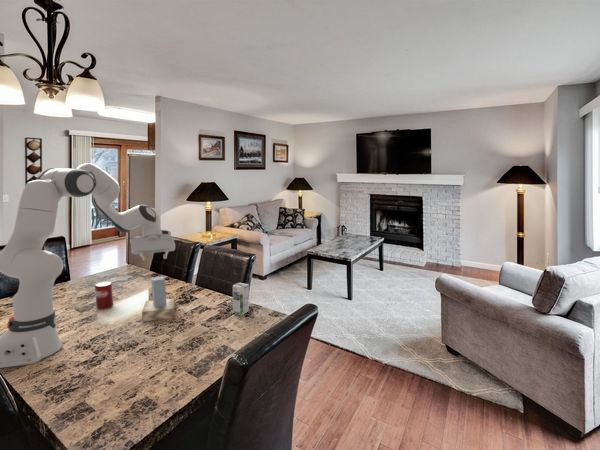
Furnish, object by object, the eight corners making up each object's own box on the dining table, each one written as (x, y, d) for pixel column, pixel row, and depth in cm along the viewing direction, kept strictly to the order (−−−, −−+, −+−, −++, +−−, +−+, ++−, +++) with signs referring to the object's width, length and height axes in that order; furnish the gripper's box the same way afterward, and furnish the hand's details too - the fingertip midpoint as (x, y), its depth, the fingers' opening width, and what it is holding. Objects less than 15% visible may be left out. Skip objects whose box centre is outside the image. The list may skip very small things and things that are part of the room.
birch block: (142, 322, 146) (141, 311, 146) (146, 310, 158) (145, 301, 158) (173, 318, 150) (172, 308, 150) (174, 307, 163) (174, 298, 162)
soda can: (105, 310, 157) (103, 286, 155) (92, 309, 158) (90, 285, 156) (116, 304, 164) (115, 282, 162) (104, 303, 165) (102, 281, 163)
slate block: (155, 307, 150) (153, 280, 148) (152, 304, 154) (151, 278, 152) (166, 305, 153) (165, 279, 151) (163, 301, 157) (162, 276, 155)
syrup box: (232, 314, 156) (231, 285, 153) (240, 309, 161) (239, 281, 159) (241, 316, 153) (241, 287, 151) (249, 312, 158) (249, 283, 156)
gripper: (129, 233, 158) (131, 257, 151) (173, 231, 168) (177, 253, 161) (129, 241, 162) (131, 264, 155) (172, 238, 172) (176, 260, 165)
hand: (155, 259), depth 158 cm, fingers open, 8 cm apart
